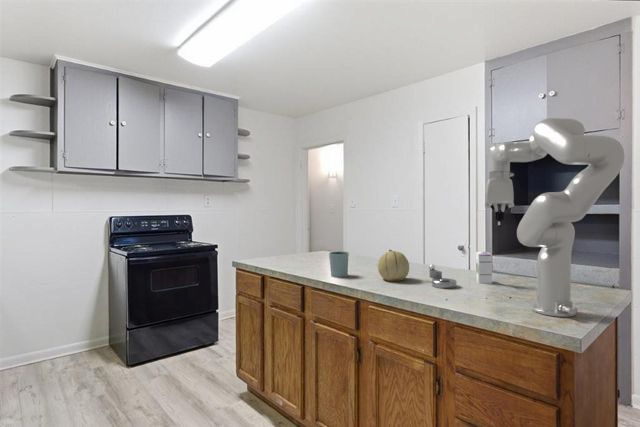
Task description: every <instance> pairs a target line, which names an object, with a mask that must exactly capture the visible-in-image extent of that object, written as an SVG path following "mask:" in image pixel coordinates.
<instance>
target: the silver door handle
mask: <svg viewBox="0 0 640 427" xmlns="http://www.w3.org/2000/svg"><path fill="white" fill-rule="evenodd" d="M428 269H429V278H430V279H431V281H432V282H431V287H432V288H435V289H443V290H450V289H457V280H456V279H453V278H448V277H447V278H445V277H443V276H442V275H443V272H442V271H440V270H438V269H436V266H435V264H433V263H430V264H429V266H428Z"/></svg>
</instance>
